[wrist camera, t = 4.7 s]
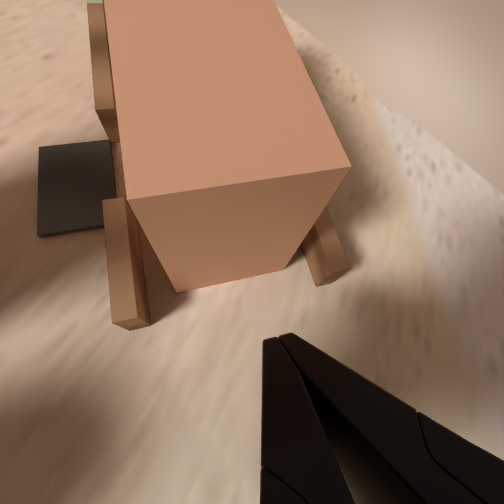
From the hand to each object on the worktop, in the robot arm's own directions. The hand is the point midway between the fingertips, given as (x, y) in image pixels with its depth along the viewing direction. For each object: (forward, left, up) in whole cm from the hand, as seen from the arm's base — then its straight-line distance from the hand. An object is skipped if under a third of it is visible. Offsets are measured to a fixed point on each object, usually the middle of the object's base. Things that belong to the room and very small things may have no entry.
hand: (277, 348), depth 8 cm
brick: (+10, -6, -7) cm, 14 cm away
